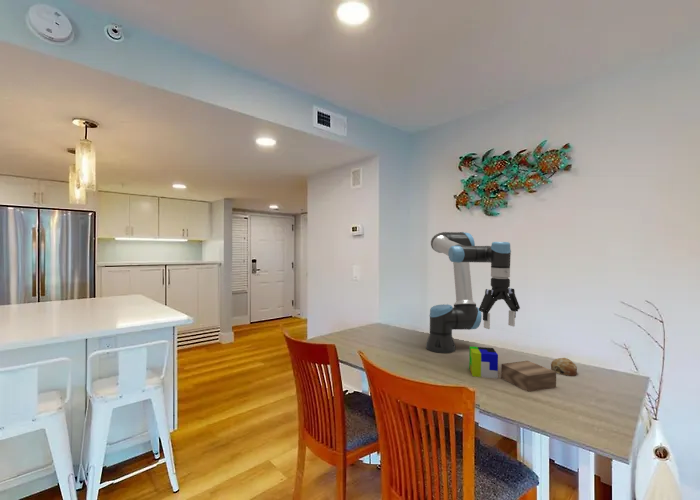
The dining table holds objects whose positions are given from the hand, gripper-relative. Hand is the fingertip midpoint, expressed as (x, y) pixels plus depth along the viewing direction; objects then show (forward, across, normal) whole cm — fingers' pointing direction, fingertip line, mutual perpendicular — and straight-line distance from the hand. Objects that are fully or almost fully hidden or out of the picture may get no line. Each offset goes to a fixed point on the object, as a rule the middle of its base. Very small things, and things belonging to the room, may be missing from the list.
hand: (499, 327), depth 147 cm
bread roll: (+21, +31, -7) cm, 38 cm away
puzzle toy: (+21, -5, +4) cm, 22 cm away
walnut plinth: (+20, +5, -11) cm, 24 cm away
